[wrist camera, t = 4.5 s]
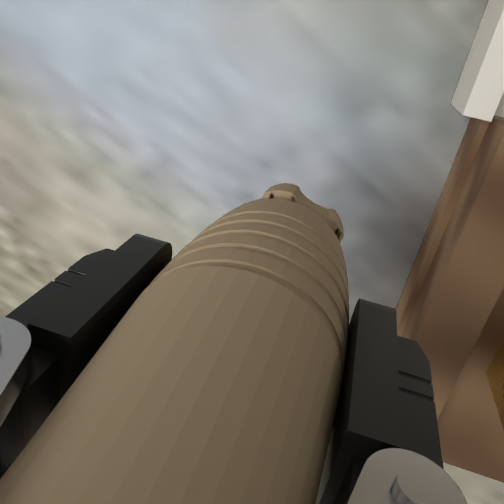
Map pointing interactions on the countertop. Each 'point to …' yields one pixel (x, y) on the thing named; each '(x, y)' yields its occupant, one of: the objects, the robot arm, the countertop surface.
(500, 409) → the chip
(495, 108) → the tray
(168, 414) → the handle
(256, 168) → the countertop surface
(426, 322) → the slot board
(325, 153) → the countertop surface
